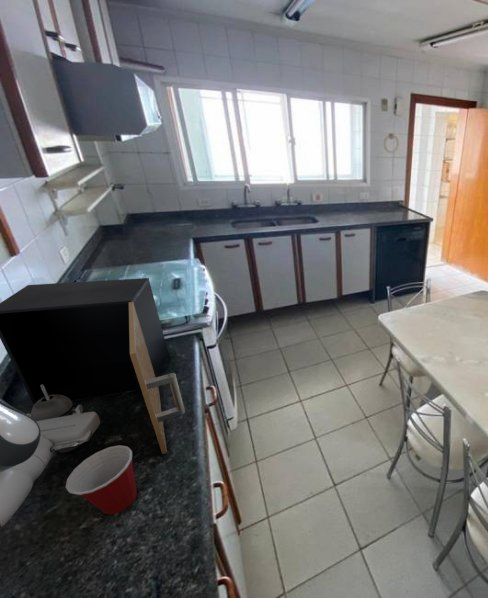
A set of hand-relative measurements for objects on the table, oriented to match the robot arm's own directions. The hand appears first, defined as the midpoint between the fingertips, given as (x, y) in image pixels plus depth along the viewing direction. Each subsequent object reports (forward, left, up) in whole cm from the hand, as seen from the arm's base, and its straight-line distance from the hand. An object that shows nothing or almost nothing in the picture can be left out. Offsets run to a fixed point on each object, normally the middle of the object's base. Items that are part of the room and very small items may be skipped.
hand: (56, 410), depth 80 cm
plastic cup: (+16, -22, -11) cm, 30 cm away
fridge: (0, +27, -11) cm, 29 cm away
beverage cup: (0, -1, -11) cm, 11 cm away
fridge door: (+22, +4, -11) cm, 25 cm away
